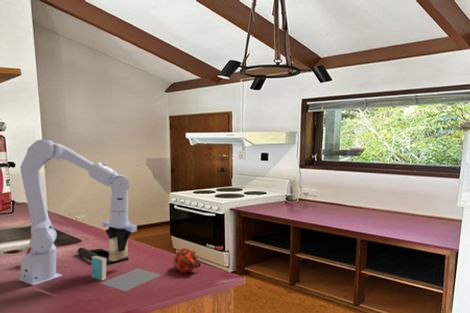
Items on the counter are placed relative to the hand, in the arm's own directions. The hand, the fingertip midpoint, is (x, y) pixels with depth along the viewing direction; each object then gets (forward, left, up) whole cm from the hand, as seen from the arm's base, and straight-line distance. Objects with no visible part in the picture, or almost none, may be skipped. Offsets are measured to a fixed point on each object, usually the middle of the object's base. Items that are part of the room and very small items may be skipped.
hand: (118, 250), depth 121 cm
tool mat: (-3, -9, -7) cm, 12 cm away
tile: (-8, 0, -4) cm, 9 cm away
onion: (-11, +29, -8) cm, 32 cm away
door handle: (+8, +16, -8) cm, 19 cm away
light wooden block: (0, 0, -3) cm, 3 cm away
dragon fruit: (+13, -19, -8) cm, 24 cm away
